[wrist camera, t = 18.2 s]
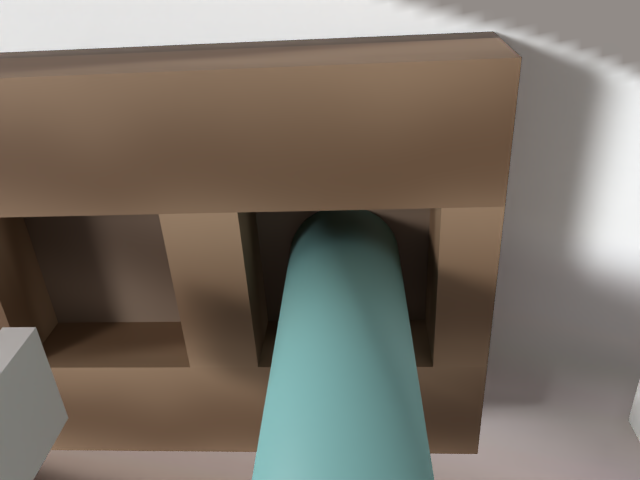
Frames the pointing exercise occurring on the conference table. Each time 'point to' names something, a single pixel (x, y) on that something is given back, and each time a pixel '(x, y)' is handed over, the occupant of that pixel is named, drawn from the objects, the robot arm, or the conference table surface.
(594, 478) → the conference table surface
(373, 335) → the peg
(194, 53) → the board
